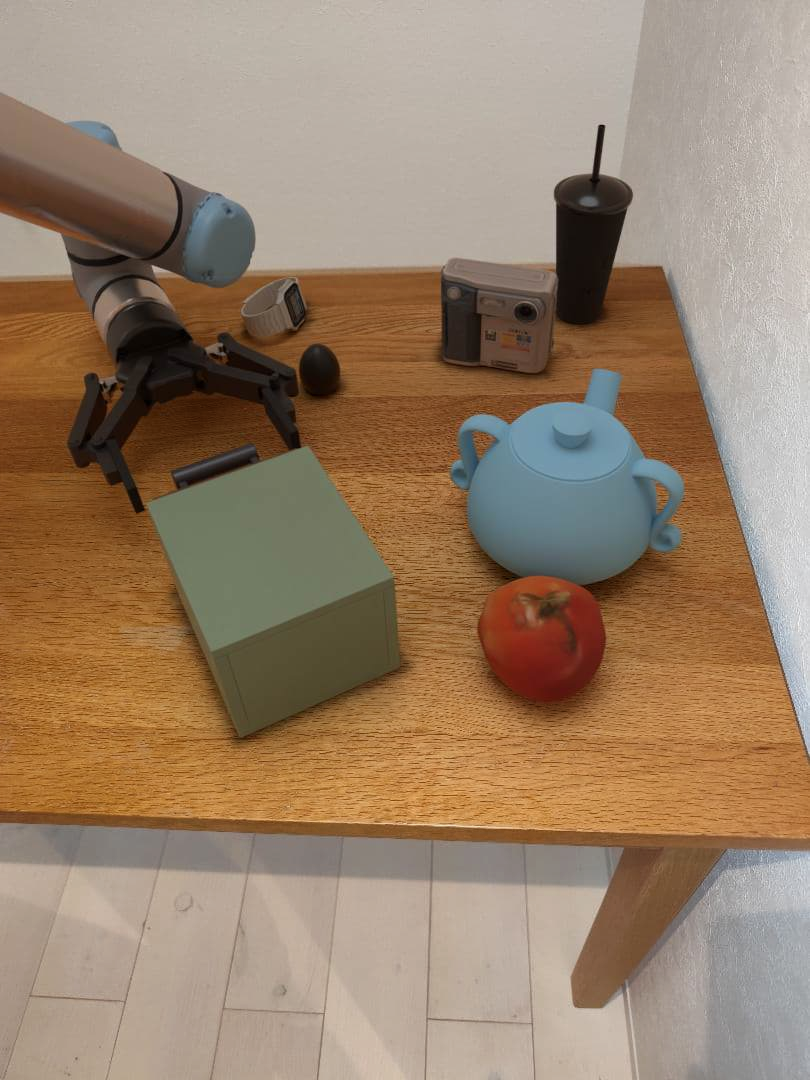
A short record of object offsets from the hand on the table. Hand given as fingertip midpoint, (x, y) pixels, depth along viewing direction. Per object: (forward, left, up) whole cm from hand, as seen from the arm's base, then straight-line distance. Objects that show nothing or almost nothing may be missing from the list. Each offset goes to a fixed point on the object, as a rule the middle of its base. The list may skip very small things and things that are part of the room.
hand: (218, 472), depth 72 cm
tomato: (+24, -16, -7) cm, 30 cm away
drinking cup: (+36, +29, -7) cm, 46 cm away
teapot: (+29, -1, -7) cm, 30 cm away
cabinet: (+5, -11, -7) cm, 14 cm away
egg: (+8, +19, -7) cm, 22 cm away
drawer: (+3, -7, -6) cm, 10 cm away
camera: (+26, +22, -7) cm, 34 cm away
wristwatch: (+3, +31, -7) cm, 32 cm away
